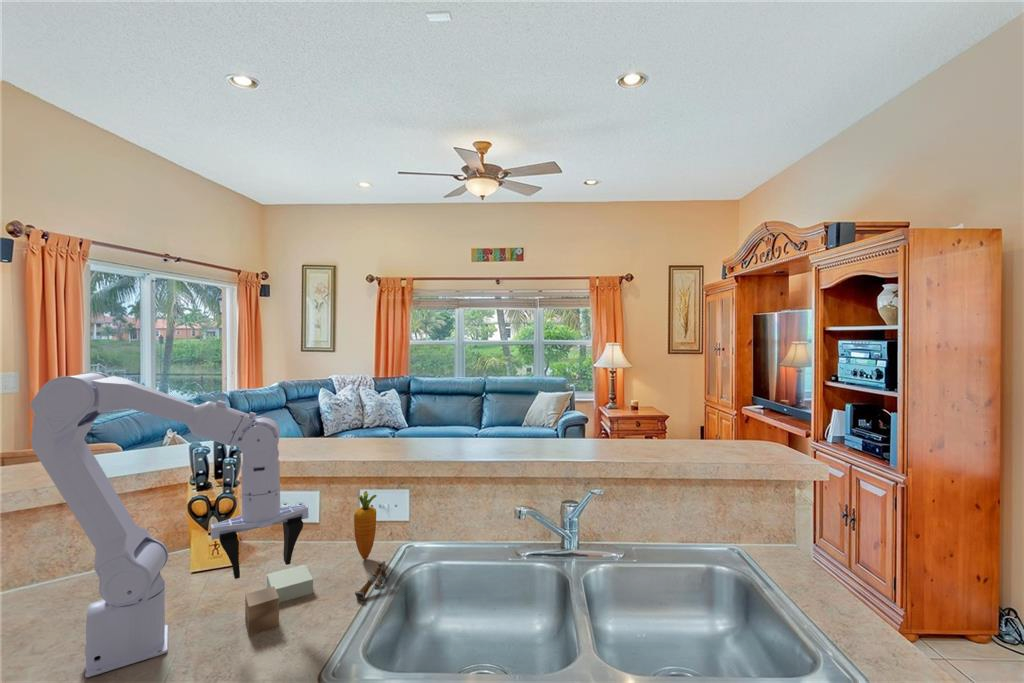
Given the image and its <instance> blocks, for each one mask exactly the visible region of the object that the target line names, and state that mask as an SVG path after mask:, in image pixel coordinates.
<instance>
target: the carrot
mask: <svg viewBox="0 0 1024 683" xmlns="http://www.w3.org/2000/svg"><path fill="white" fill-rule="evenodd" d="M358 496H359V497H358V498H359V501H360V505H362V506H361V507H358V508H356V510H355V512H354V515H353V524H354V525H353V526H354V528H353V529H354V538H355V543H356V548H357V551H358V552H359V555H360V556H361V558H362V560H365V561H366V560H367V559H368V558H369V556H370V554H371V553H372V549H373V546H374V542H375V537H376V528H377V527H376V526H377V509H376V508H375V507H373V506H370V504H371V502H372V501H373V500H374V499H375V498H376V497H377V494H372V496H371V497H370V498H369V499H368V497H369V493H368V491H367V490H366V491H365V490H364V492H363V495H362V494H361V495H358Z"/></svg>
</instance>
